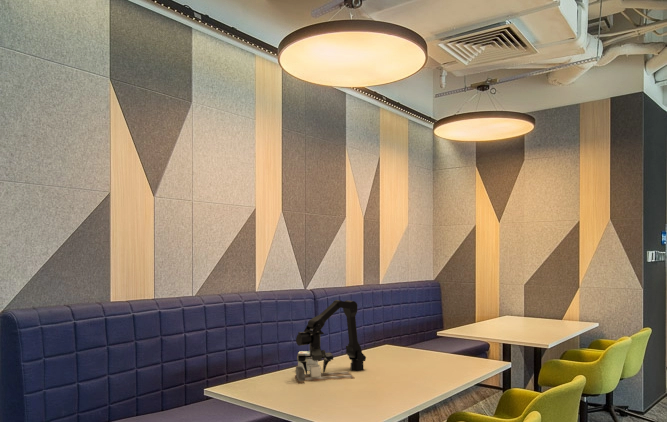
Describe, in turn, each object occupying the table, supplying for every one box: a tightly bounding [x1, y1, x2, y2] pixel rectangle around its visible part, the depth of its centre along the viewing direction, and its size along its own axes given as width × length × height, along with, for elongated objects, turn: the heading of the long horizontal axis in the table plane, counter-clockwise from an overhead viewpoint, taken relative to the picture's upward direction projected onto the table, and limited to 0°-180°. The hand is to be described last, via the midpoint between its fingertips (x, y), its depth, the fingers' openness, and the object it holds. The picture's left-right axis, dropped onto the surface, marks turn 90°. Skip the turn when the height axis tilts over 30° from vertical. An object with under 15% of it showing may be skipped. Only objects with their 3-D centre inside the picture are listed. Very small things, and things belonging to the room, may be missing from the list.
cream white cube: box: [309, 363, 322, 377], centre depth 274 cm, size 5×6×6 cm
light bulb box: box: [297, 350, 319, 372], centre depth 292 cm, size 11×7×11 cm, turn 84°
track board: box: [294, 365, 355, 385], centre depth 275 cm, size 30×14×6 cm, turn 101°
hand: (315, 373), depth 274 cm, fingers open, 9 cm apart
